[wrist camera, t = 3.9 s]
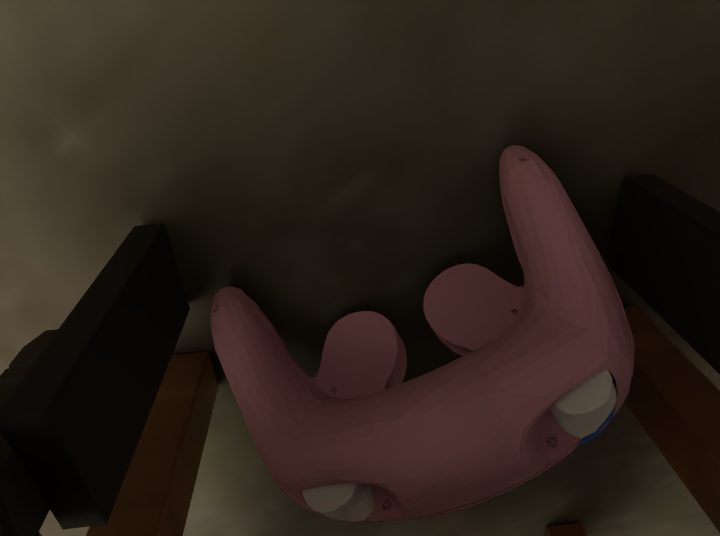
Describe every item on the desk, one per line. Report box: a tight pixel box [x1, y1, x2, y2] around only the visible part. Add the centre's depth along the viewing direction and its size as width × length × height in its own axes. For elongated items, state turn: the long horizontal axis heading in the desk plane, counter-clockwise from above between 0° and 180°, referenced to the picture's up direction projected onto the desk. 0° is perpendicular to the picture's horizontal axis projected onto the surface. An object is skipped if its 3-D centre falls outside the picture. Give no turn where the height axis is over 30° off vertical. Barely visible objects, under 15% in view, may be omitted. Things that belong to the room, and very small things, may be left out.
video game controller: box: [210, 145, 635, 522], centre depth 12 cm, size 10×5×7 cm, turn 117°
